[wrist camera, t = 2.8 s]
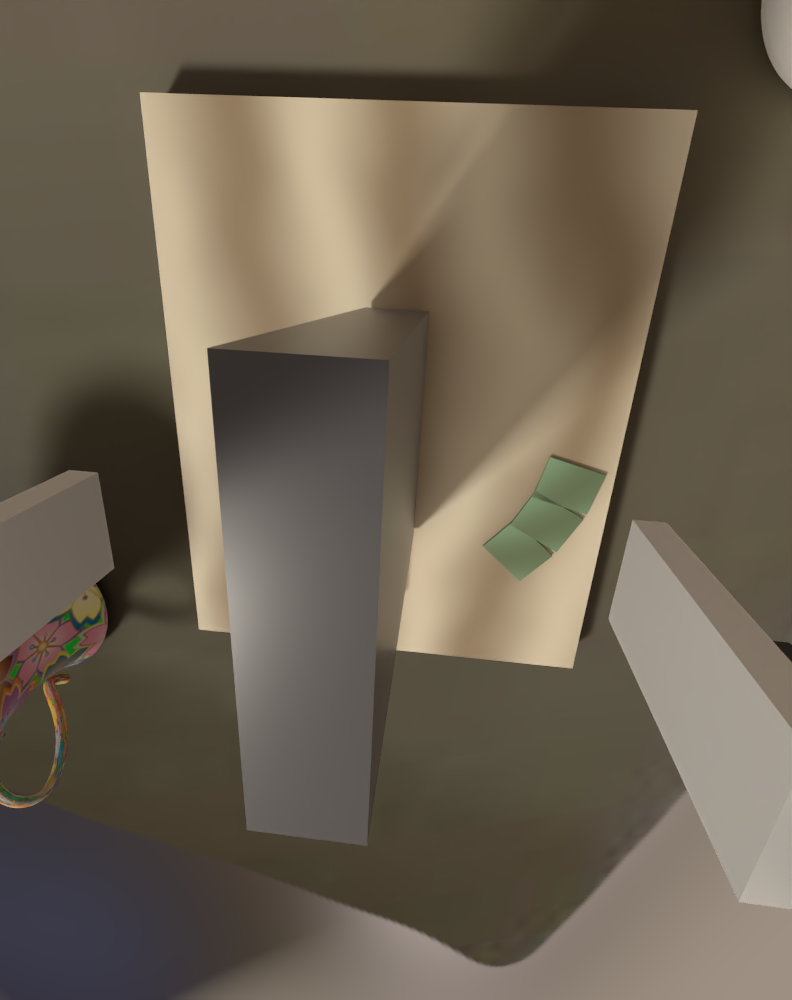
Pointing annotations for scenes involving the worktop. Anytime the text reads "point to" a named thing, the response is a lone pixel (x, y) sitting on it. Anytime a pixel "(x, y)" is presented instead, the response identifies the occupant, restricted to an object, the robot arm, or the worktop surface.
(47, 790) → the mug
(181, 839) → the worktop surface
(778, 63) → the water bottle
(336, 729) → the gray square slab
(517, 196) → the beige flat board
